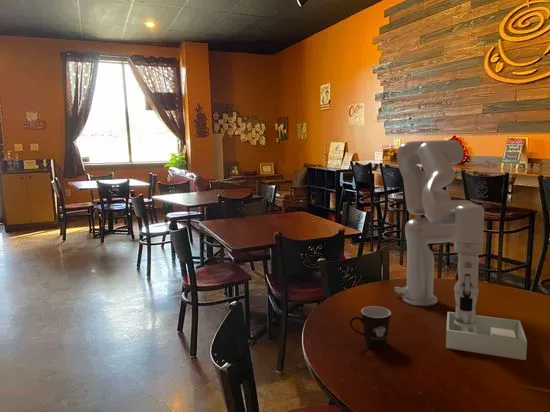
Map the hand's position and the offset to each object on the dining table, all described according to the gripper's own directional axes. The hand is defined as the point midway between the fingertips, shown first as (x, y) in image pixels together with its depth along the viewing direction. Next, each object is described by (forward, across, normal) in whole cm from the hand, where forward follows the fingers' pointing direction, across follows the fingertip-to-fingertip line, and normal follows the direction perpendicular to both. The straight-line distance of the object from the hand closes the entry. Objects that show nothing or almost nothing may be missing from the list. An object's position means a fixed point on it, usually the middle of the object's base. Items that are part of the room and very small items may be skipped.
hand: (465, 305), depth 123 cm
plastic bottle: (+10, 0, 0) cm, 10 cm away
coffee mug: (+12, -10, +26) cm, 30 cm away
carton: (+11, 0, -10) cm, 15 cm away
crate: (+11, 0, -5) cm, 12 cm away
